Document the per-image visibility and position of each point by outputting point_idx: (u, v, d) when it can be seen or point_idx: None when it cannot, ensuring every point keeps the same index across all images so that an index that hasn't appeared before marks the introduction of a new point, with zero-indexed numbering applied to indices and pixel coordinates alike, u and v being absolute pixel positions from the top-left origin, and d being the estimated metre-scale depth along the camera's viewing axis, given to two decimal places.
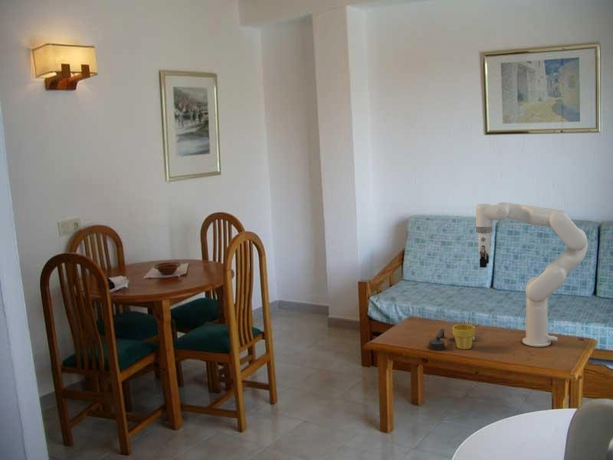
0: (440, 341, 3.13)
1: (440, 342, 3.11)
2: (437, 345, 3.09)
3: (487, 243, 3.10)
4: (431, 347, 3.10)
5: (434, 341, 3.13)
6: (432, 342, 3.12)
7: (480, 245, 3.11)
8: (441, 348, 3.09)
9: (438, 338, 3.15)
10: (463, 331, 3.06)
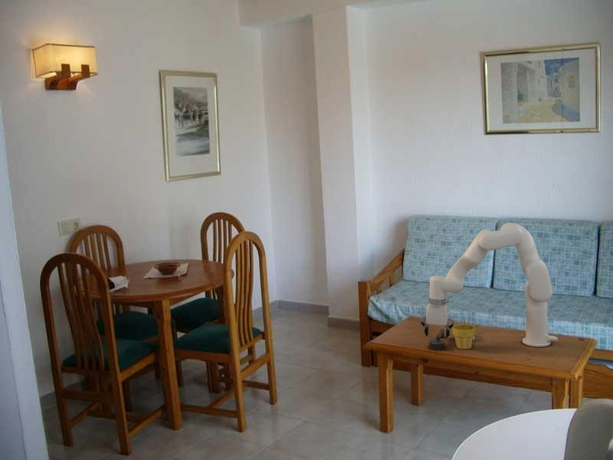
0: (440, 341, 3.13)
1: (440, 342, 3.11)
2: (437, 345, 3.09)
3: None
4: (431, 347, 3.10)
5: (434, 341, 3.13)
6: (432, 342, 3.12)
7: (447, 316, 3.13)
8: (441, 348, 3.09)
9: (438, 338, 3.15)
10: (463, 331, 3.06)
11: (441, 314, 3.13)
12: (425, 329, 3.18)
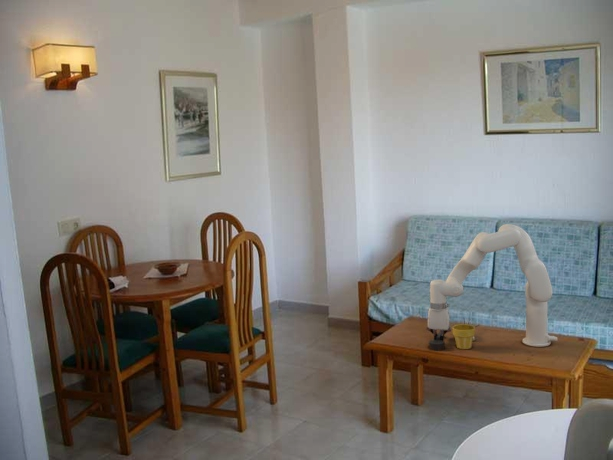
0: (440, 341, 3.13)
1: (440, 342, 3.11)
2: (437, 345, 3.09)
3: None
4: (431, 347, 3.10)
5: (434, 341, 3.13)
6: (432, 342, 3.12)
7: (448, 320, 3.13)
8: (441, 348, 3.09)
9: (438, 338, 3.15)
10: (463, 331, 3.06)
11: (442, 318, 3.13)
12: (434, 336, 3.17)
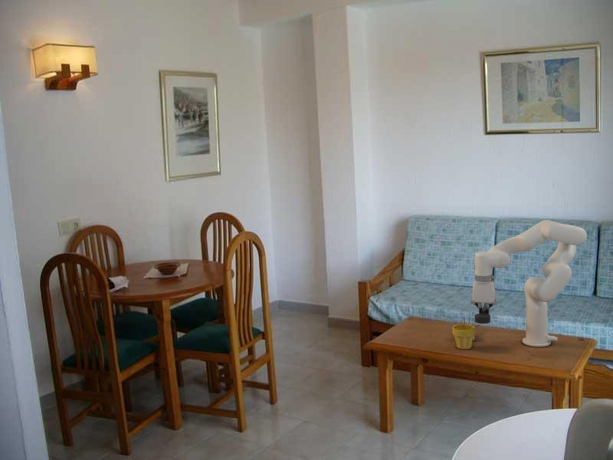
0: (486, 314, 3.03)
1: (486, 315, 3.02)
2: (483, 318, 2.99)
3: None
4: (477, 320, 3.01)
5: (480, 314, 3.04)
6: (478, 315, 3.02)
7: (494, 293, 3.04)
8: (487, 321, 3.00)
9: (483, 312, 3.06)
10: (463, 331, 3.06)
11: (488, 291, 3.04)
12: (479, 310, 3.08)
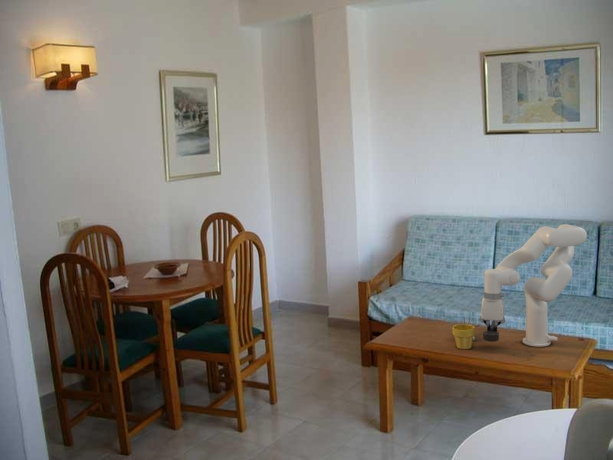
0: (494, 332, 3.03)
1: (495, 333, 3.01)
2: (492, 336, 2.99)
3: None
4: (485, 338, 3.01)
5: (488, 332, 3.03)
6: (486, 333, 3.02)
7: (503, 311, 3.04)
8: (496, 339, 3.00)
9: (492, 329, 3.05)
10: (463, 331, 3.06)
11: (497, 309, 3.03)
12: (488, 328, 3.08)
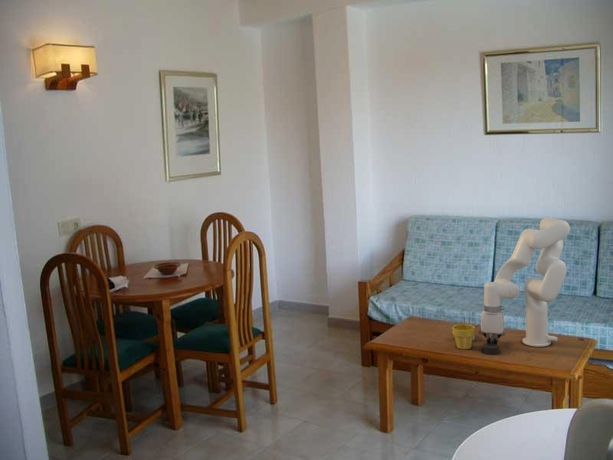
0: (494, 345, 3.04)
1: (495, 346, 3.02)
2: (492, 349, 3.00)
3: None
4: (485, 351, 3.02)
5: (488, 345, 3.04)
6: (486, 346, 3.03)
7: (503, 324, 3.05)
8: (496, 352, 3.00)
9: (492, 342, 3.06)
10: (463, 331, 3.06)
11: (497, 321, 3.04)
12: (488, 340, 3.09)
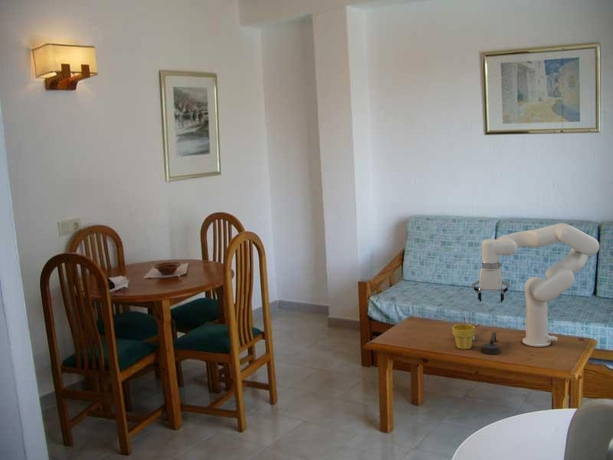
0: (494, 345, 3.04)
1: (495, 346, 3.02)
2: (492, 349, 3.00)
3: None
4: (485, 351, 3.02)
5: (488, 345, 3.04)
6: (486, 346, 3.03)
7: (501, 280, 3.07)
8: (496, 352, 3.00)
9: (492, 342, 3.06)
10: (463, 331, 3.06)
11: (495, 278, 3.06)
12: (478, 294, 3.12)
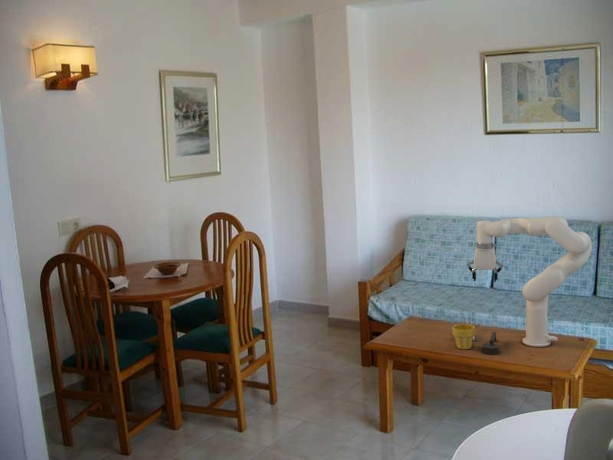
0: (494, 345, 3.04)
1: (495, 346, 3.02)
2: (492, 349, 3.00)
3: None
4: (485, 351, 3.02)
5: (488, 345, 3.04)
6: (486, 346, 3.03)
7: (495, 260, 3.17)
8: (496, 352, 3.00)
9: (492, 342, 3.06)
10: (463, 331, 3.06)
11: (489, 258, 3.17)
12: (473, 274, 3.23)
